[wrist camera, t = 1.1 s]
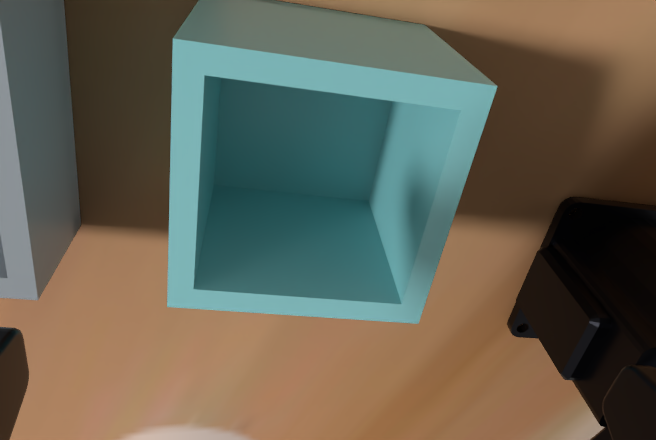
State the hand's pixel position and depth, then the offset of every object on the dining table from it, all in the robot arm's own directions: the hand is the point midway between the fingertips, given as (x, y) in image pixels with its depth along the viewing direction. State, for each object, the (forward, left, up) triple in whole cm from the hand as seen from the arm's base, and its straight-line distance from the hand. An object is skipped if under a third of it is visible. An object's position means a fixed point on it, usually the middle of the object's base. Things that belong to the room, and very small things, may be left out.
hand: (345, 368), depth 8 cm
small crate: (0, 0, -11) cm, 11 cm away
